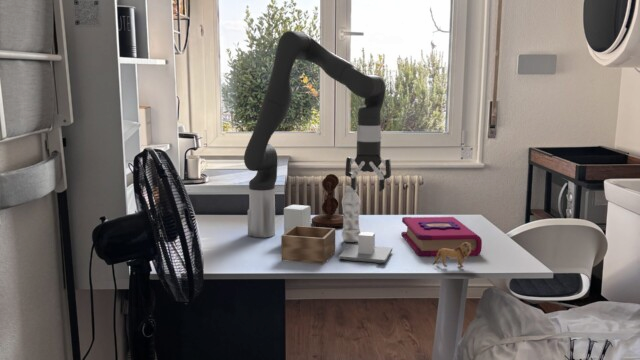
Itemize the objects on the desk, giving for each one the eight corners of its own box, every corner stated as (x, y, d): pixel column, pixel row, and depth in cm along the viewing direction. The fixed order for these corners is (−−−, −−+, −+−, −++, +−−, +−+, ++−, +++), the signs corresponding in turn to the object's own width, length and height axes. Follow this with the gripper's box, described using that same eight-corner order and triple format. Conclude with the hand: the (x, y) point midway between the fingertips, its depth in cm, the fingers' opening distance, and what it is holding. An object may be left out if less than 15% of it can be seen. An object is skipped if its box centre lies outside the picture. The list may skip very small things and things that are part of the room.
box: (281, 260, 193) (281, 235, 191) (295, 248, 206) (294, 225, 205) (324, 263, 189) (324, 238, 188) (335, 251, 202) (335, 228, 201)
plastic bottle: (359, 244, 211) (360, 187, 208) (339, 243, 213) (340, 187, 209) (361, 240, 217) (362, 184, 214) (343, 239, 219) (343, 184, 216)
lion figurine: (468, 263, 190) (469, 240, 189) (472, 267, 186) (473, 244, 185) (430, 263, 190) (431, 241, 188) (434, 268, 185) (435, 244, 184)
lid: (339, 261, 192) (339, 237, 191) (349, 249, 206) (349, 227, 205) (384, 265, 189) (385, 241, 187) (392, 253, 202) (392, 230, 201)
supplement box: (311, 240, 217) (311, 205, 215) (302, 245, 210) (302, 209, 208) (293, 238, 220) (292, 203, 218) (283, 243, 213) (283, 207, 211)
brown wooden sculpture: (314, 220, 248) (314, 172, 244) (350, 222, 246) (351, 173, 242) (308, 229, 233) (308, 177, 230) (347, 230, 231) (347, 178, 228)
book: (456, 234, 227) (457, 214, 226) (481, 256, 200) (482, 233, 199) (400, 235, 226) (401, 215, 225) (418, 257, 198) (418, 234, 197)
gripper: (343, 140, 190) (343, 191, 192) (389, 141, 186) (388, 193, 189) (349, 137, 197) (348, 187, 199) (393, 139, 193) (391, 189, 196)
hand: (367, 190), depth 194 cm, fingers open, 8 cm apart
